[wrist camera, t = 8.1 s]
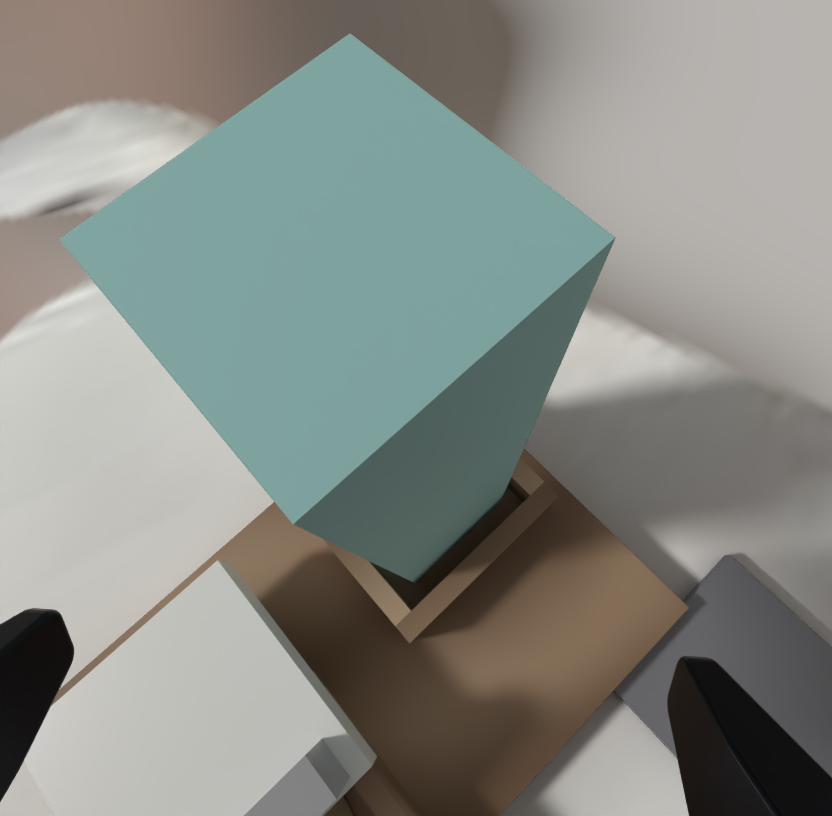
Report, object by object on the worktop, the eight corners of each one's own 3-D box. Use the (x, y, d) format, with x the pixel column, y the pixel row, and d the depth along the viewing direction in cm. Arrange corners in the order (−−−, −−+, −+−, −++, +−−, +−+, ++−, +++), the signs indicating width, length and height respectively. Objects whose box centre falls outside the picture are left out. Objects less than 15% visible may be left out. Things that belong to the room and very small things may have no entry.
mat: (882, 699, 18) (891, 701, 17) (763, 850, 17) (770, 856, 16) (724, 555, 19) (729, 554, 19) (607, 683, 18) (610, 685, 18)
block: (499, 502, 20) (615, 237, 5) (415, 583, 19) (293, 525, 5) (422, 423, 21) (349, 33, 7) (340, 497, 20) (59, 238, 6)
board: (677, 607, 19) (709, 608, 17) (259, 1063, 16) (225, 1143, 13) (435, 372, 22) (432, 344, 20) (52, 708, 19) (-4, 722, 17)
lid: (377, 756, 16) (361, 787, 13) (169, 967, 15) (106, 1047, 12) (230, 562, 18) (190, 555, 15) (37, 732, 17) (-42, 756, 14)
